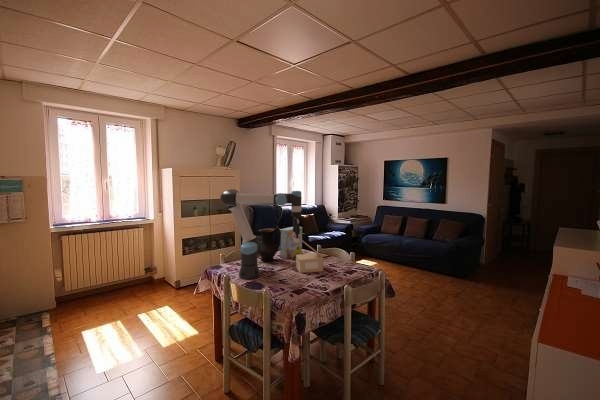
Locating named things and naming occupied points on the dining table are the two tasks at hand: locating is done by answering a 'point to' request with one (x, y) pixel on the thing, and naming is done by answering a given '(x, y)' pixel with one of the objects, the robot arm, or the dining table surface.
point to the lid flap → (307, 245)
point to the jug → (269, 244)
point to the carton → (309, 263)
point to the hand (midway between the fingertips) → (296, 241)
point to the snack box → (290, 243)
